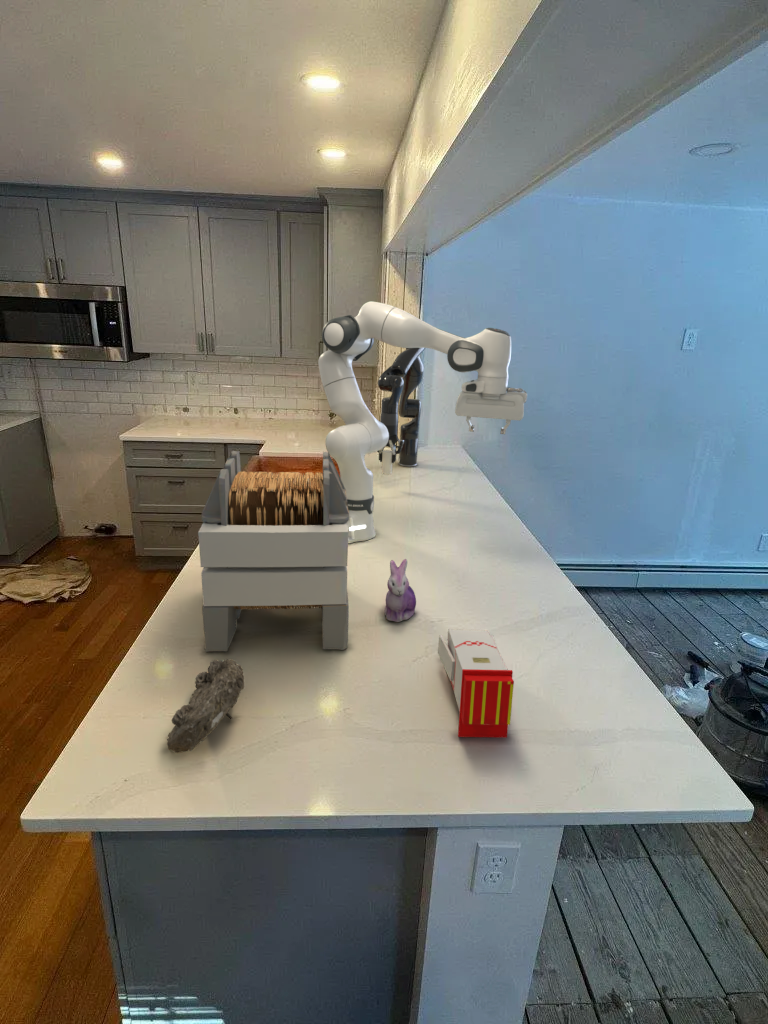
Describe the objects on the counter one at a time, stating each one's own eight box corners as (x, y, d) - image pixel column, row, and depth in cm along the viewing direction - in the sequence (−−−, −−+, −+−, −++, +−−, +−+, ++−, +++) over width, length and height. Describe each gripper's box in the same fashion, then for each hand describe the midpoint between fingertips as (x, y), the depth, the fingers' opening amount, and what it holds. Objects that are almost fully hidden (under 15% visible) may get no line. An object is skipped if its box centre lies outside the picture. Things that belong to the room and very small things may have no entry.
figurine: (392, 627, 141) (395, 572, 136) (374, 608, 149) (376, 556, 144) (425, 619, 145) (429, 566, 140) (405, 601, 154) (408, 550, 149)
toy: (488, 613, 130) (523, 677, 101) (484, 667, 133) (517, 744, 104) (435, 612, 130) (455, 676, 101) (432, 666, 133) (451, 743, 103)
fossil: (192, 660, 117) (244, 628, 112) (224, 691, 120) (276, 661, 115) (142, 746, 98) (202, 712, 93) (182, 779, 101) (242, 748, 96)
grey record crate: (225, 584, 158) (217, 441, 145) (342, 583, 162) (345, 443, 148) (202, 654, 127) (189, 479, 113) (348, 650, 131) (352, 481, 117)
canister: (386, 475, 243) (387, 453, 240) (379, 473, 246) (380, 451, 243) (394, 473, 246) (395, 452, 242) (387, 471, 249) (388, 449, 246)
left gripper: (527, 387, 168) (521, 433, 173) (458, 382, 171) (454, 428, 176) (528, 390, 162) (522, 437, 167) (456, 385, 166) (452, 431, 170)
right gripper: (370, 422, 237) (368, 462, 243) (403, 426, 233) (401, 466, 239) (375, 419, 244) (373, 458, 249) (407, 422, 240) (405, 461, 246)
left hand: (486, 432), depth 171 cm, fingers open, 8 cm apart
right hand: (387, 461), depth 244 cm, fingers closed on canister, 4 cm apart
